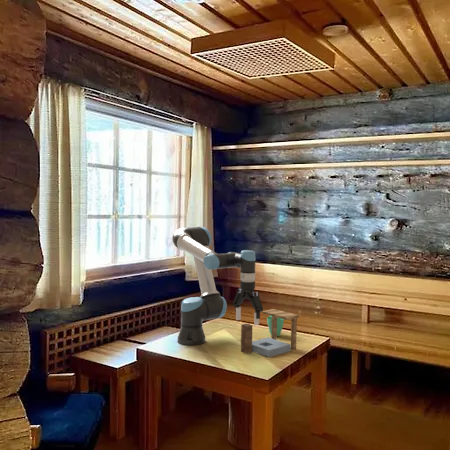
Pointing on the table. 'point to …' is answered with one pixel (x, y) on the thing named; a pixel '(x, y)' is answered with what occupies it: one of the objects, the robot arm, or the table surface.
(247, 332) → the peg
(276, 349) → the socket block
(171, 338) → the table surface
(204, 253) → the robot arm
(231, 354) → the table surface
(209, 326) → the table surface
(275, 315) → the wooden arch frame
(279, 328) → the green tapered vase
